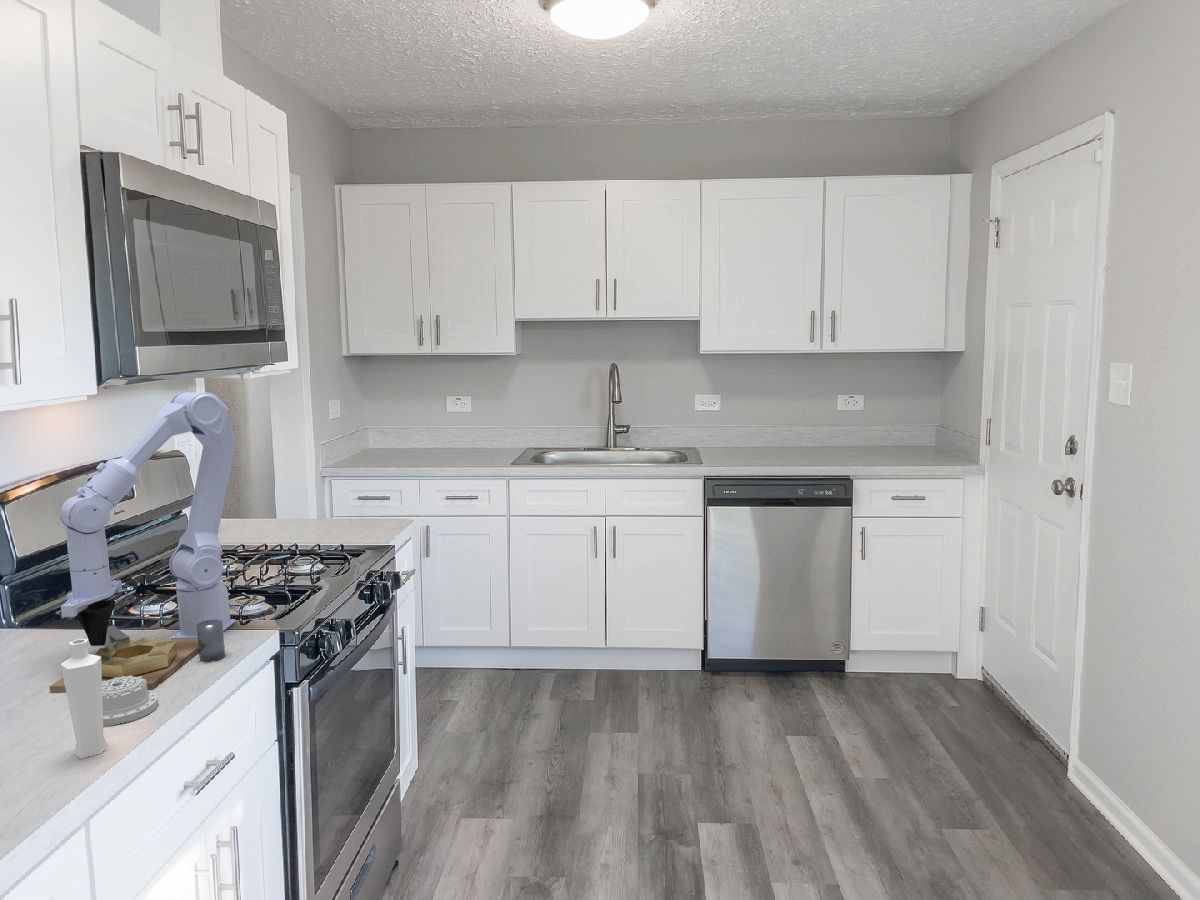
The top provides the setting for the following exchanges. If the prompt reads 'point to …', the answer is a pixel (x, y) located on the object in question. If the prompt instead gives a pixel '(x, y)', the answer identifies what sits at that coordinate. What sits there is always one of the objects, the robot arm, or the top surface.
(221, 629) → the steel pin
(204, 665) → the top surface
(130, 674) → the handled hexagon ring
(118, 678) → the mechanical component
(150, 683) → the mount board
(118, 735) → the top surface
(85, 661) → the perfume bottle
